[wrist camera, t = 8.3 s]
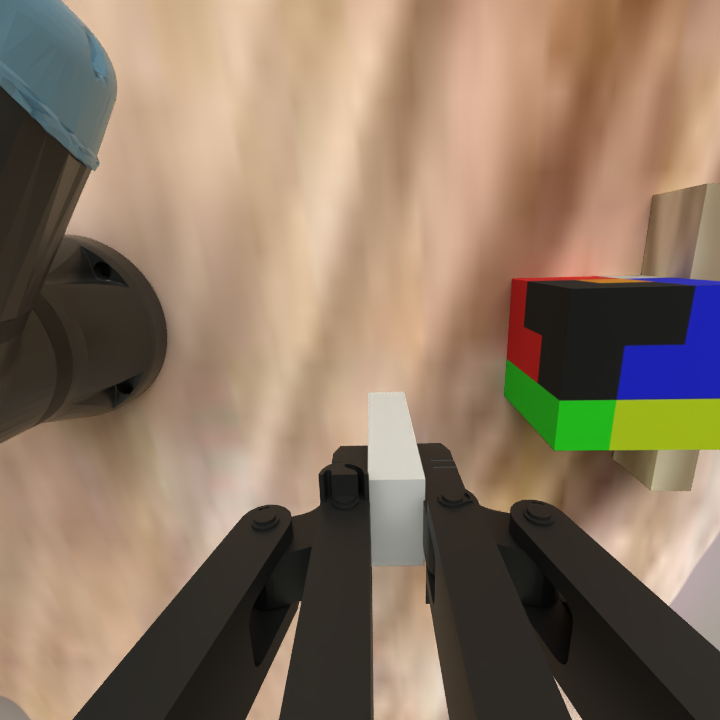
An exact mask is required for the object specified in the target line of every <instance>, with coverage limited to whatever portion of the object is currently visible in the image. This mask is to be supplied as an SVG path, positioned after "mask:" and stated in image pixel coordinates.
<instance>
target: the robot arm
mask: <svg viewBox="0 0 720 720" xmlns="http://www.w3.org/2000/svg"><path fill="white" fill-rule="evenodd" d="M116 96H117V80H116V75H115V71H114V68H113V66H112V63H111V61H110V59H109V57H108V55H107V53H106V51H105V49H104V48H103V46H102V45H101V44H100V42H99V41H98V39H97V38H96V37H95V36H94V34H93V33H92V32H91V31H90V30H89V29H88V27H87V26H86V25H85V24H84V23H83V22H82V21H81V20H80V19H79V18H78V17H77V16H76V15H75V14H74V13H73V12H72V11H71V10H70V9H69V8H68V7H67V6H66V5H65V4H64V3H63V2H62V1H61V0H0V443H2V442H4V441H6V440H8V439H10V438H12V437H14V436H16V435H18V434H20V433H22V432H24V431H26V430H28V429H30V428H32V427H34V426H36V425H38V424H40V423H45V422H52V421H60V420H67V419H75V418H83V417H90V416H96V415H100V414H104V413H107V412H110V411H112V410H115V409H117V408H119V407H121V406H122V405H124V404H126V403H127V402H129V401H131V400H133V399H134V398H136V397H137V396H139V395H140V394H142V393H143V392H144V391H145V390H146V389H147V388H148V387H149V386H150V385H151V384H152V383H153V381H154V380H155V378H156V377H157V375H158V373H159V371H160V369H161V367H162V364H163V361H164V358H165V353H166V346H167V330H166V323H165V318H164V314H163V311H162V308H161V305H160V302H159V300H158V298H157V296H156V294H155V292H154V290H153V289H152V287H151V285H150V284H149V282H148V281H147V279H146V278H145V277H144V276H143V274H142V273H141V272H140V271H139V270H138V269H137V268H136V267H135V266H134V265H133V264H132V263H131V262H130V261H129V260H128V259H127V258H125V257H124V256H123V255H121V254H120V253H118V252H117V251H115V250H114V249H112V248H110V247H109V246H107V245H105V244H103V243H100V242H98V241H95V240H92V239H89V238H85V237H81V236H75V235H64V233H65V231H66V229H67V226H68V224H69V221H70V219H71V217H72V214H73V212H74V209H75V207H76V205H77V202H78V200H79V197H80V195H81V192H82V190H83V188H84V186H85V183H86V181H87V179H88V177H89V174H90V172H91V170H94V171H95V170H96V169H97V167H98V166H99V160H98V157H97V154H98V151H99V148H100V145H101V142H102V139H103V136H104V133H105V130H106V127H107V124H108V121H109V118H110V116H111V113H112V110H113V107H114V104H115V101H116ZM319 488H320V506H319V507H317V508H316V509H314V510H312V511H311V512H308V513H305V514H302V515H297V516H293V517H291V513H290V511H289V510H287V509H286V508H285V507H282V506H279V505H265V506H260V507H257V508H255V509H253V510H251V511H249V512H248V513H246V514H245V515H244V516H243V517H242V518H241V519H240V520H239V522H238V523H237V524H236V525H235V526H234V528H233V529H232V530H231V531H230V532H229V533H228V535H227V536H226V537H225V538H224V539H223V541H222V542H221V543H220V544H219V545H218V547H217V548H216V549H215V550H214V551H213V553H212V554H211V555H210V556H209V557H208V559H207V560H206V561H205V562H204V563H203V564H202V566H201V567H200V568H199V569H198V570H197V572H196V573H195V574H194V575H193V576H192V578H191V579H190V580H189V581H188V582H187V584H186V585H185V586H184V587H183V588H182V590H181V591H180V592H179V593H178V594H177V595H176V597H175V598H174V599H173V600H172V601H171V603H170V604H169V605H168V606H167V607H166V609H165V610H164V611H163V612H162V613H161V615H160V616H159V617H158V618H157V619H156V621H155V622H154V623H153V624H152V625H151V626H150V628H149V629H148V630H147V631H146V632H145V634H144V635H143V636H142V637H141V638H140V640H139V641H138V642H137V643H136V644H135V646H134V647H133V648H132V649H131V650H130V652H129V653H128V654H127V655H126V656H125V657H124V659H123V660H122V661H121V662H120V663H119V665H118V666H117V667H116V668H115V669H114V671H113V672H112V673H111V674H110V675H109V677H108V678H107V679H106V680H105V681H104V683H103V684H102V685H101V686H100V687H99V688H98V690H97V691H96V692H95V693H94V694H93V696H92V697H91V698H90V699H89V700H88V702H87V703H86V704H85V705H84V706H83V708H82V709H81V710H80V711H79V712H78V714H77V715H76V716H75V717H74V718H73V719H72V720H245V719H246V717H247V715H248V713H249V711H250V709H251V707H252V704H253V702H254V700H255V698H256V696H257V694H258V692H259V690H260V688H261V685H262V683H263V681H264V679H265V677H266V675H267V673H268V671H269V668H270V666H271V664H272V662H273V660H274V658H275V656H276V654H277V652H278V649H279V647H280V645H281V643H282V641H283V639H284V637H285V635H286V632H287V630H288V628H289V626H290V624H291V622H292V620H293V618H294V616H295V613H296V611H297V609H298V605H299V601H302V602H301V607H300V612H299V618H298V623H297V628H296V633H295V639H294V644H293V649H292V654H291V660H290V665H289V670H288V675H287V681H286V686H285V691H284V696H283V702H282V707H281V712H280V717H279V720H374V710H373V623H372V566H415V565H424V554H425V560H426V604H430V607H431V613H432V619H433V625H434V631H435V637H436V643H437V649H438V655H439V661H440V667H441V673H442V678H443V684H444V690H445V696H446V702H447V708H448V714H449V720H572V719H571V717H570V714H569V712H568V710H567V707H566V705H565V703H564V700H563V698H562V696H561V693H560V691H559V689H558V686H557V684H556V682H555V679H556V681H557V682H558V684H559V685H560V687H561V688H562V690H563V691H564V693H565V694H566V696H567V697H568V699H569V700H570V702H571V703H572V705H573V706H574V708H575V709H576V711H577V712H578V714H579V715H580V717H581V718H582V720H720V651H719V650H717V649H716V648H715V647H714V646H713V645H712V644H711V643H709V642H708V641H707V640H706V639H705V638H704V637H703V636H702V635H700V634H699V633H698V632H697V631H696V630H695V629H694V628H693V627H692V626H690V625H689V624H688V623H687V622H686V621H685V620H683V619H682V618H681V617H680V616H679V615H678V614H677V613H676V612H675V611H673V610H672V609H671V608H670V607H669V606H668V605H667V604H666V603H664V602H663V601H662V600H661V599H660V598H659V597H658V596H657V595H655V594H654V593H653V592H652V591H651V590H650V589H649V588H648V587H646V586H645V585H644V584H643V583H642V582H641V581H640V580H639V579H637V578H636V577H635V576H634V575H633V574H632V573H631V572H630V571H628V570H627V569H626V568H625V567H624V566H623V565H622V564H621V563H619V562H618V561H617V560H616V559H615V558H614V557H613V556H612V555H610V554H609V553H608V552H607V551H606V550H605V549H604V548H602V547H601V546H600V545H599V544H598V543H597V542H596V541H595V540H593V539H592V538H591V537H590V536H589V535H588V534H587V533H586V532H584V531H583V530H582V529H581V528H580V527H579V526H578V525H577V524H575V523H574V522H573V521H572V520H571V519H570V518H569V517H568V516H566V515H565V514H564V513H563V512H562V511H560V510H559V509H557V508H556V507H554V506H553V505H550V504H548V503H545V502H542V501H537V500H521V501H519V502H516V503H514V504H513V506H512V507H511V510H510V513H505V512H500V511H495V510H492V509H488V508H485V507H483V506H481V505H479V502H478V500H477V499H476V497H475V496H474V495H473V494H472V493H471V492H469V491H468V490H466V489H465V487H464V485H463V482H462V480H461V477H460V475H459V472H458V470H457V467H456V465H455V462H454V460H453V457H452V455H451V452H450V450H449V449H447V448H446V447H445V446H444V445H442V444H441V443H427V444H417V443H416V439H415V435H414V431H413V427H412V423H411V419H410V415H409V411H408V406H407V402H406V398H405V394H404V392H371V393H368V446H340V447H339V448H338V449H337V450H336V452H335V453H334V454H333V459H332V464H330V465H328V466H326V467H325V468H323V469H322V470H321V472H320V473H319ZM553 676H554V677H553ZM554 678H555V679H554Z"/></svg>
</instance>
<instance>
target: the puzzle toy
mask: <svg viewBox="0 0 720 720" xmlns="http://www.w3.org/2000/svg"><path fill="white" fill-rule="evenodd" d="M504 396H505V397H506V398H507V399H508V401H509V402H510V403H511V404H512V405H513V406H514V407H515V408H516V409H517V410H518V411H519V413H520V414H521V415H522V416H523V417H524V418H525V419H526V420H527V421H528V422H529V424H530V425H531V426H532V427H533V428H534V429H535V430H536V431H537V432H538V433H539V434H540V436H541V437H542V438H543V439H544V440H545V441H546V442H547V443H548V444H549V445H550V447H551V448H552V449H553V450H554V451H569V450H720V281H711V280H698V279H684V278H671V277H658V276H644V275H630V276H592V277H554V278H516V279H512V290H511V304H510V318H509V333H508V347H507V361H506V375H505V389H504Z"/></svg>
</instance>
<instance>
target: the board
mask: <svg viewBox="0 0 720 720" xmlns="http://www.w3.org/2000/svg"><path fill="white" fill-rule="evenodd" d="M641 275H644V276H658V277H671V278H684V279H698V280H711V281H720V183H710V184H703V185H699V186H694V187H690V188H685V189H680V190H676V191H671V192H667V193H662V194H657V195H653V201H652V207H651V214H650V220H649V227H648V233H647V239H646V246H645V252H644V259H643V265H642V272H641ZM698 455H699V450H614V454H613V459H614V460H615V461H616V462H617V463H619V464H620V465H621V466H622V467H623V468H624V469H626V470H627V471H628V472H629V473H630V474H631V475H633V476H634V477H635V478H636V479H637V480H638V481H640V482H641V483H642V484H643V485H644V486H645V487H647V488H648V489H649V490H650V491H691V487H692V483H693V478H694V473H695V469H696V464H697V459H698Z"/></svg>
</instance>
